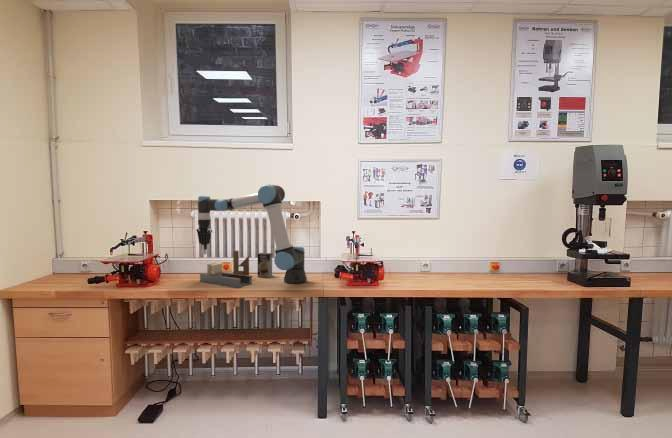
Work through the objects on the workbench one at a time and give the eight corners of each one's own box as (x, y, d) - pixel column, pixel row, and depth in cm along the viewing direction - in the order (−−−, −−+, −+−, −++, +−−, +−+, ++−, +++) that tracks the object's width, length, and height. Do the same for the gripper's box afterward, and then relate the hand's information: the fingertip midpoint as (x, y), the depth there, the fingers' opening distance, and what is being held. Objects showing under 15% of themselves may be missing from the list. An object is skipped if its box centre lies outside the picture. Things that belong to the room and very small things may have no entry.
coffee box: (257, 276, 255) (257, 253, 255) (260, 275, 262) (260, 252, 261) (269, 277, 254) (269, 254, 253) (272, 275, 261) (272, 252, 260)
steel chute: (251, 284, 234) (251, 275, 233) (237, 287, 223) (237, 279, 223) (214, 277, 251) (214, 270, 250) (199, 281, 240) (199, 273, 240)
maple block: (221, 278, 243) (221, 263, 243) (213, 280, 237) (213, 265, 237) (215, 277, 246) (215, 262, 246) (207, 279, 240) (207, 264, 240)
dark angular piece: (248, 276, 256) (248, 251, 255) (232, 276, 255) (232, 251, 254) (249, 275, 260) (249, 250, 259) (233, 275, 259) (233, 250, 258)
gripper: (215, 219, 245) (215, 254, 246) (202, 218, 251) (202, 252, 252) (206, 219, 238) (206, 255, 239) (192, 218, 245) (193, 254, 246)
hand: (204, 254), depth 246 cm, fingers closed
